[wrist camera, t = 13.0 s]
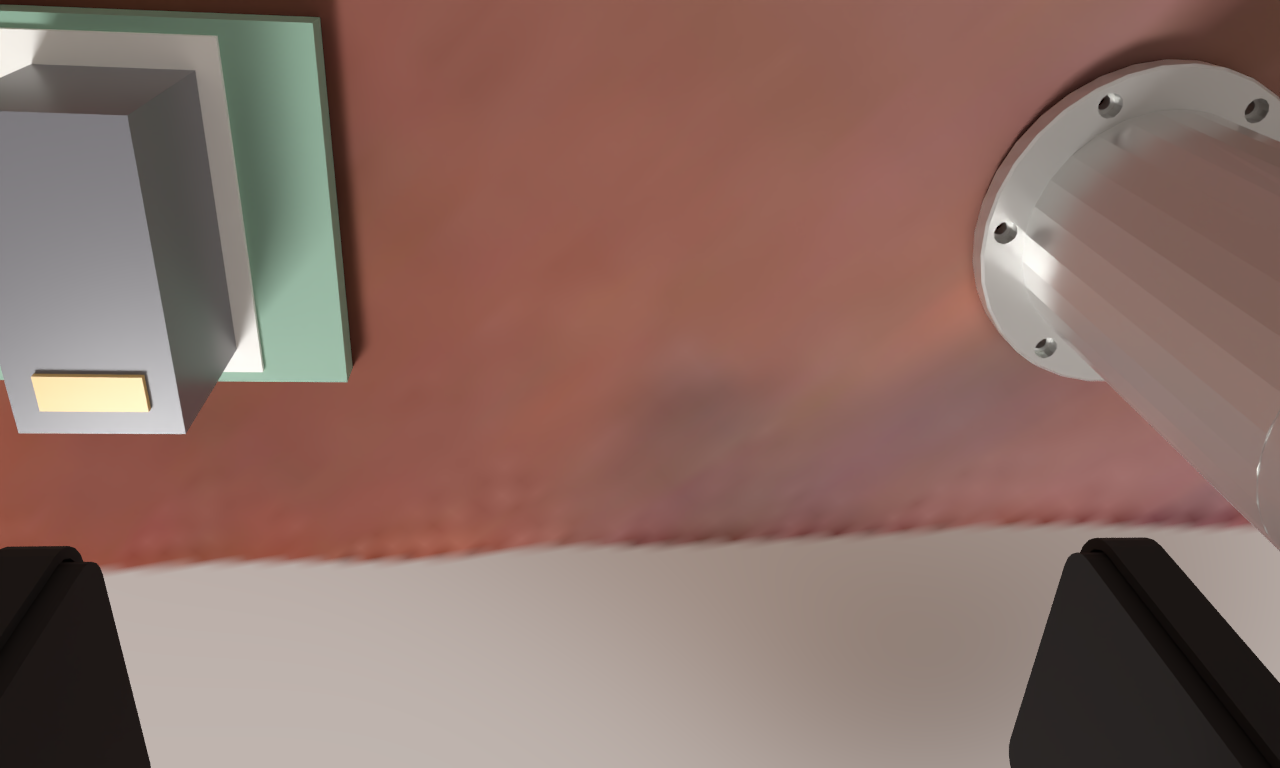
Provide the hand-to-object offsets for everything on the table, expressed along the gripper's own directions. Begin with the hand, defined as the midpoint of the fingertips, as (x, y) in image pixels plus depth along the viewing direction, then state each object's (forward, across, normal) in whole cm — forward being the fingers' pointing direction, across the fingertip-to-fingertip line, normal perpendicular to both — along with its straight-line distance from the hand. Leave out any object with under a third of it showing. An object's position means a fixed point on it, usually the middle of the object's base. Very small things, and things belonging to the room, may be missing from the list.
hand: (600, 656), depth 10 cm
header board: (+28, +14, +5) cm, 32 cm away
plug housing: (+27, +14, +5) cm, 31 cm away
